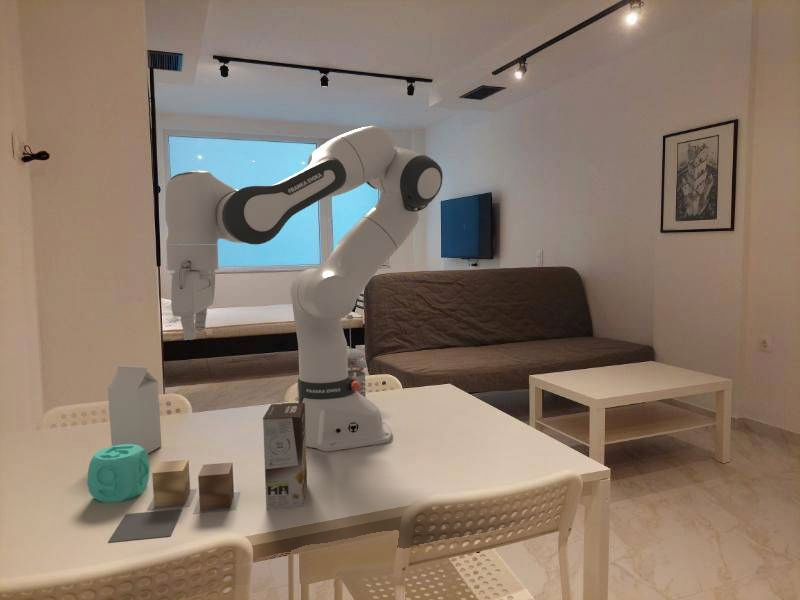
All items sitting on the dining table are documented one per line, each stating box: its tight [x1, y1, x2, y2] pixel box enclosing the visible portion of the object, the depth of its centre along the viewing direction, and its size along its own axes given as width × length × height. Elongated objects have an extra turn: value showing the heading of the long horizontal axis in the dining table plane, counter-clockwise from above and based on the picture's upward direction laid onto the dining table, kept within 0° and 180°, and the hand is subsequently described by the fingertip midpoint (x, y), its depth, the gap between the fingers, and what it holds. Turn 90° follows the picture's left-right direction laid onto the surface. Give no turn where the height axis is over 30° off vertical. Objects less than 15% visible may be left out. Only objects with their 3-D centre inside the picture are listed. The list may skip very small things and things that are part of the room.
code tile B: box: [146, 488, 198, 511], centre depth 100 cm, size 7×7×1 cm
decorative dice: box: [86, 444, 150, 503], centre depth 103 cm, size 8×8×8 cm
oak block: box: [151, 459, 191, 507], centre depth 99 cm, size 5×5×6 cm
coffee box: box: [262, 402, 308, 510], centre depth 99 cm, size 9×6×16 cm
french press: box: [346, 314, 367, 398], centre depth 160 cm, size 10×12×25 cm
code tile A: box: [192, 491, 241, 515], centre depth 98 cm, size 7×7×1 cm
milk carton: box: [107, 365, 162, 455], centre depth 123 cm, size 7×7×19 cm
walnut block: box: [197, 461, 235, 510], centre depth 98 cm, size 5×5×6 cm
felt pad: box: [107, 508, 183, 544], centre depth 91 cm, size 9×9×1 cm
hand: (195, 335), depth 105 cm, fingers open, 8 cm apart
